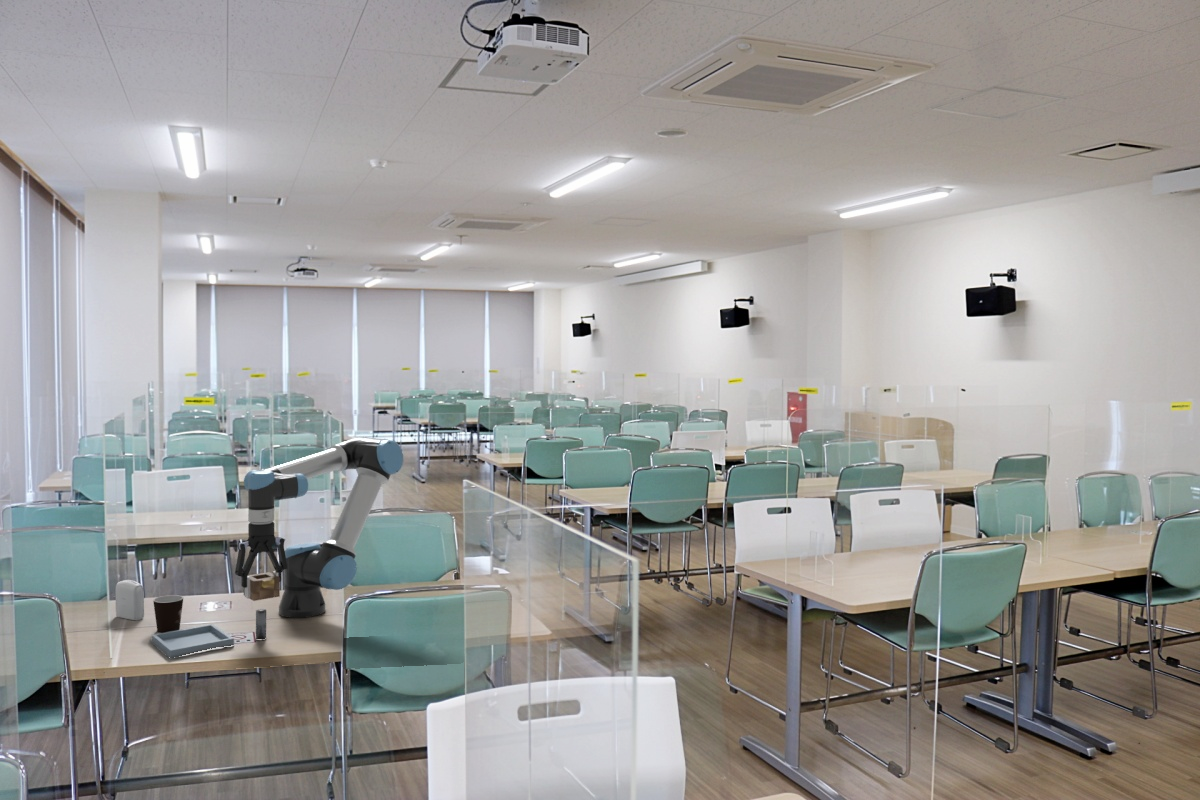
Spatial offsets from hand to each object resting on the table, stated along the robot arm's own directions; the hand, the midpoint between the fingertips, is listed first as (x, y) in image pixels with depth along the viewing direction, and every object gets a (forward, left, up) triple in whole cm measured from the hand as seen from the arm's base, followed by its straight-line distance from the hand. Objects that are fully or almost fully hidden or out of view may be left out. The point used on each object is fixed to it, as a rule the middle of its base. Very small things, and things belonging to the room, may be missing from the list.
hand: (261, 595), depth 283 cm
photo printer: (+25, -47, -14) cm, 55 cm away
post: (0, 0, -14) cm, 14 cm away
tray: (+18, -7, -14) cm, 24 cm away
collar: (0, 0, 0) cm, 0 cm away
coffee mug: (+18, -27, -14) cm, 35 cm away
